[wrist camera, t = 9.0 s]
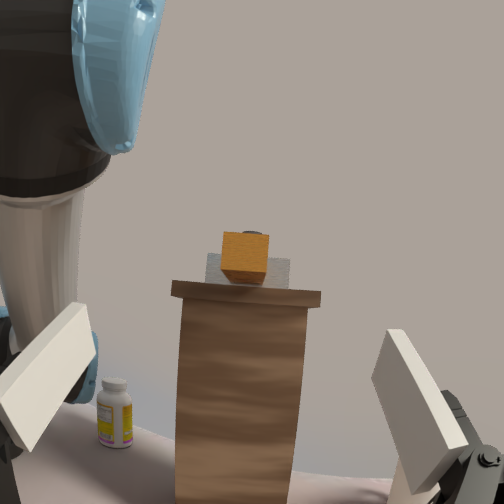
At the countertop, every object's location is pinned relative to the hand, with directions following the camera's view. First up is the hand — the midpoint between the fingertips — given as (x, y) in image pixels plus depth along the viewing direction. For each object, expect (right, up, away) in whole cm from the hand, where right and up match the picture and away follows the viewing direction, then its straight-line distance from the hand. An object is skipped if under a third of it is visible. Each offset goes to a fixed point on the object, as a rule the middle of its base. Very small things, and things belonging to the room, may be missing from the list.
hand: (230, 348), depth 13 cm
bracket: (0, +1, +18) cm, 18 cm away
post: (-2, -30, +18) cm, 35 cm away
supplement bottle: (-25, -32, +35) cm, 53 cm away
